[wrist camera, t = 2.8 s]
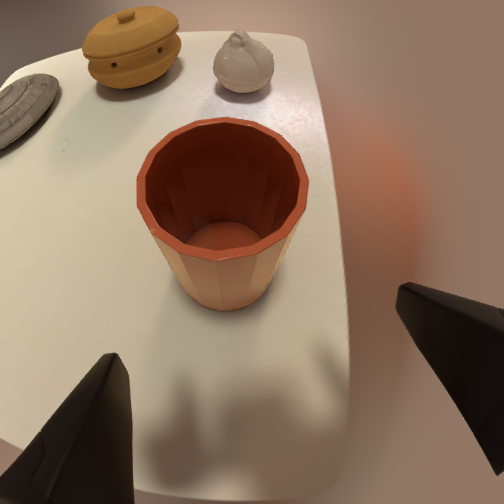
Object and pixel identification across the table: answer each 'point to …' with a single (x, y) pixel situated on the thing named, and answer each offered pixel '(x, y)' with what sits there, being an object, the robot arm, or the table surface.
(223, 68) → the figurine
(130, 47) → the pot
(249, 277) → the tumbler
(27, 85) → the flying saucer
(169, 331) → the table surface
